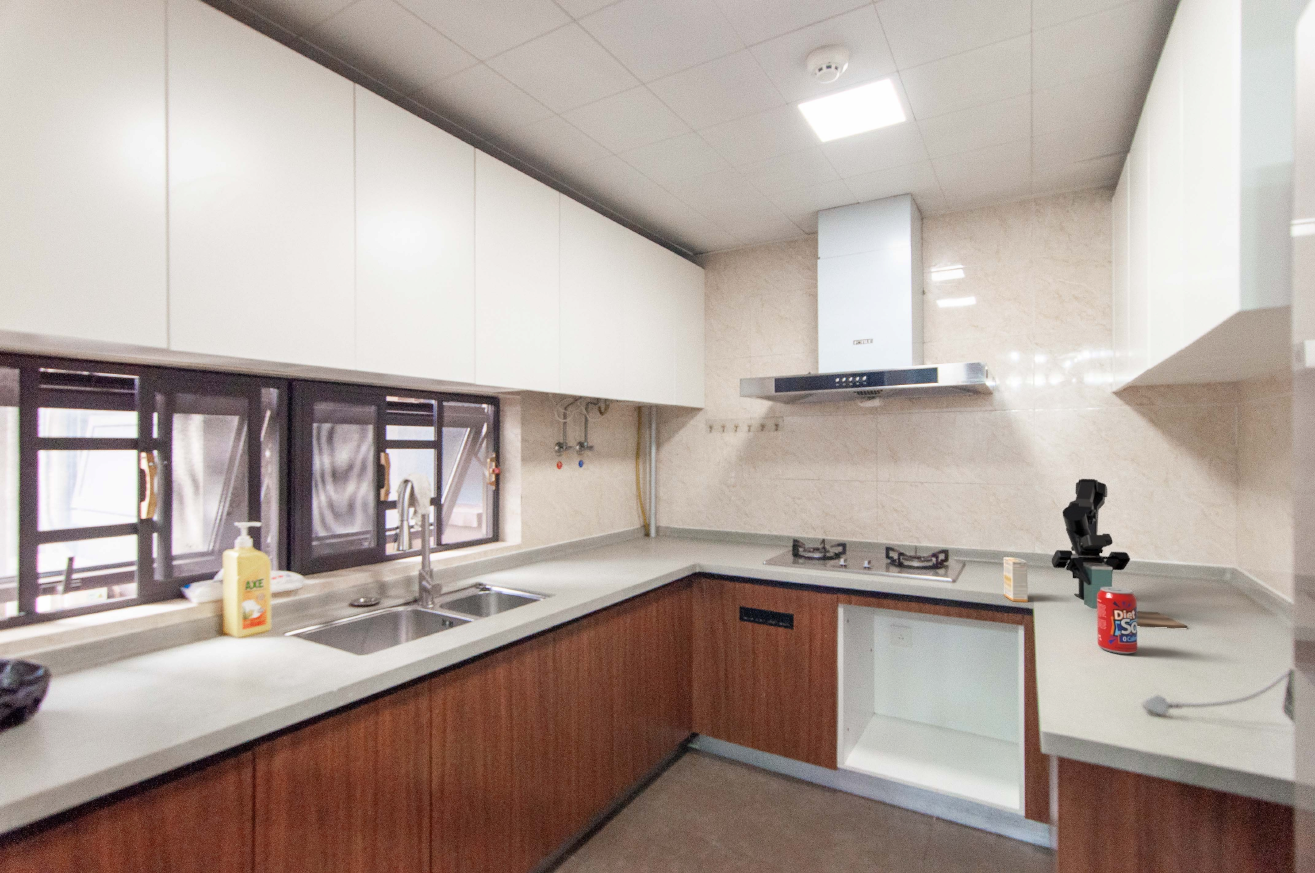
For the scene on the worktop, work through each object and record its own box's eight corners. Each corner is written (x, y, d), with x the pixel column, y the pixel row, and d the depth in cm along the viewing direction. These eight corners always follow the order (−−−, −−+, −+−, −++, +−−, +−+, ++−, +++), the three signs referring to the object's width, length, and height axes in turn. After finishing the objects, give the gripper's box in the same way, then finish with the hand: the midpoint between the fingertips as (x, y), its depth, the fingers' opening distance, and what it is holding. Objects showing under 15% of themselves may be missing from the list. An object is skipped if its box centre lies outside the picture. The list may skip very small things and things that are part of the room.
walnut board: (1104, 614, 186) (1104, 609, 186) (1157, 617, 183) (1157, 612, 183) (1129, 628, 172) (1129, 622, 172) (1187, 631, 169) (1187, 625, 169)
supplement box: (1028, 602, 198) (1028, 561, 198) (1012, 601, 199) (1011, 560, 199) (1019, 596, 206) (1018, 556, 206) (1003, 595, 207) (1002, 556, 207)
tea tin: (1083, 603, 180) (1083, 562, 181) (1103, 604, 179) (1103, 563, 180) (1092, 608, 175) (1091, 566, 176) (1112, 609, 174) (1112, 566, 174)
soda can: (1098, 643, 157) (1098, 584, 157) (1138, 649, 152) (1137, 588, 152) (1096, 651, 151) (1095, 589, 151) (1136, 658, 146) (1136, 594, 146)
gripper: (1055, 522, 183) (1072, 567, 173) (1126, 524, 180) (1148, 569, 169) (1044, 545, 191) (1060, 589, 180) (1112, 547, 187) (1133, 592, 176)
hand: (1100, 584), depth 176 cm, fingers closed on tea tin, 5 cm apart
